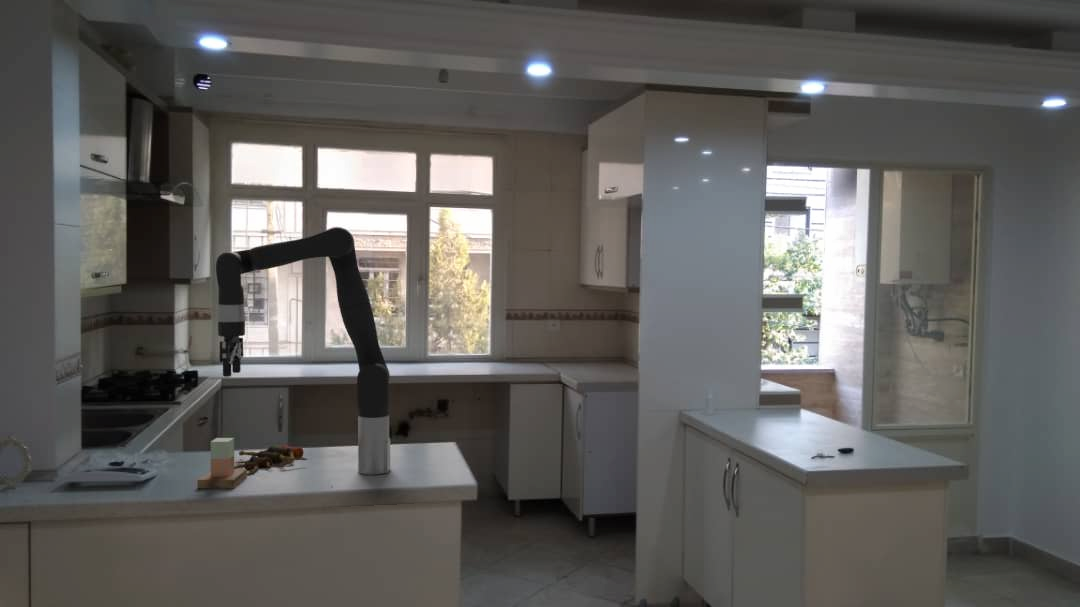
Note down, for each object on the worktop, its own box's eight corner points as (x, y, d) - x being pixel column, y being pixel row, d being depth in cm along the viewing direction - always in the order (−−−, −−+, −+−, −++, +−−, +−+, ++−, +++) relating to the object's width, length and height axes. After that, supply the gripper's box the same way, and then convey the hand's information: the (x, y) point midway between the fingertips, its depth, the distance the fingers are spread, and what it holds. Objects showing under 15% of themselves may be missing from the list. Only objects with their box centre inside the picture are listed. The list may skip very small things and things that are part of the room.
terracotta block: (234, 472, 244) (234, 455, 244) (228, 476, 239) (228, 459, 239) (216, 472, 244) (216, 455, 244) (210, 476, 239) (210, 459, 239)
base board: (246, 477, 248) (246, 469, 248) (233, 488, 236) (233, 479, 236) (212, 477, 248) (212, 469, 247) (197, 488, 236) (197, 479, 235)
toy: (263, 493, 245) (328, 459, 272) (261, 474, 244) (326, 443, 271) (195, 483, 255) (264, 452, 282) (193, 465, 254) (262, 435, 281)
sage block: (234, 455, 244) (234, 437, 244) (228, 459, 239) (228, 441, 239) (216, 455, 244) (216, 437, 244) (210, 459, 239) (210, 441, 239)
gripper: (236, 321, 241) (237, 377, 242) (251, 318, 256) (252, 371, 256) (210, 321, 241) (210, 377, 242) (226, 318, 255) (227, 371, 256)
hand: (231, 374), depth 249 cm, fingers open, 8 cm apart
